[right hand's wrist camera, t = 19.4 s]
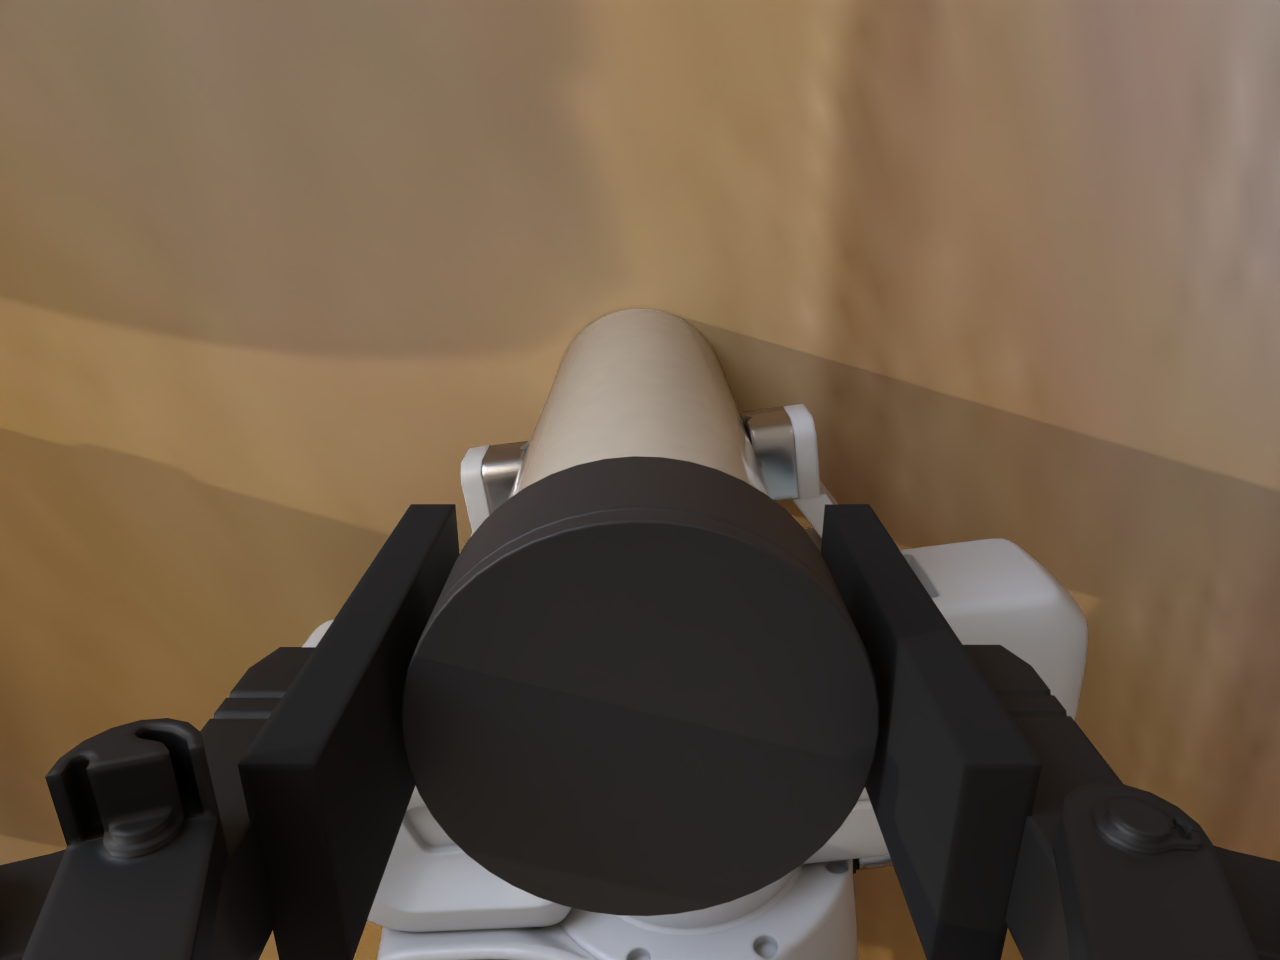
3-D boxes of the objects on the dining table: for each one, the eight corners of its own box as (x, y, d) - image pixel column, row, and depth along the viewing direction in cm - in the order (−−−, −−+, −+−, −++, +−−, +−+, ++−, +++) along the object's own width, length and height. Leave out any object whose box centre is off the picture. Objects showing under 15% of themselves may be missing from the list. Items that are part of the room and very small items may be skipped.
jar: (640, 271, 25) (641, 440, 10) (758, 393, 26) (918, 704, 11) (521, 392, 26) (361, 703, 11) (640, 502, 27) (640, 912, 12)
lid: (379, 711, 13) (329, 817, 11) (548, 379, 11) (527, 429, 9) (713, 851, 14) (726, 973, 12) (920, 570, 12) (978, 655, 10)
